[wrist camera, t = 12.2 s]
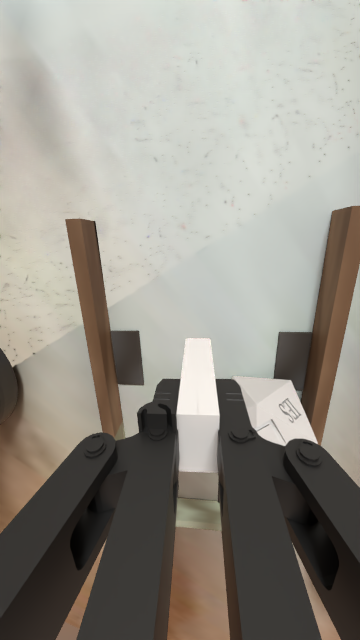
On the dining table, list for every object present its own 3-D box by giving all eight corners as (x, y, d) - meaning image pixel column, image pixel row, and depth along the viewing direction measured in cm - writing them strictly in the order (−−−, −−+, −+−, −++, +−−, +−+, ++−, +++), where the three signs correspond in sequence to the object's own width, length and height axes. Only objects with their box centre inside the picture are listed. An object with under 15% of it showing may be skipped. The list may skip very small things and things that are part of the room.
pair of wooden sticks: (125, 499, 31) (118, 520, 28) (81, 222, 20) (65, 219, 17) (292, 514, 28) (300, 538, 26) (349, 210, 17) (372, 205, 15)
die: (282, 347, 19) (370, 474, 16) (260, 361, 27) (314, 445, 24) (191, 397, 19) (261, 536, 16) (198, 395, 27) (244, 485, 24)
